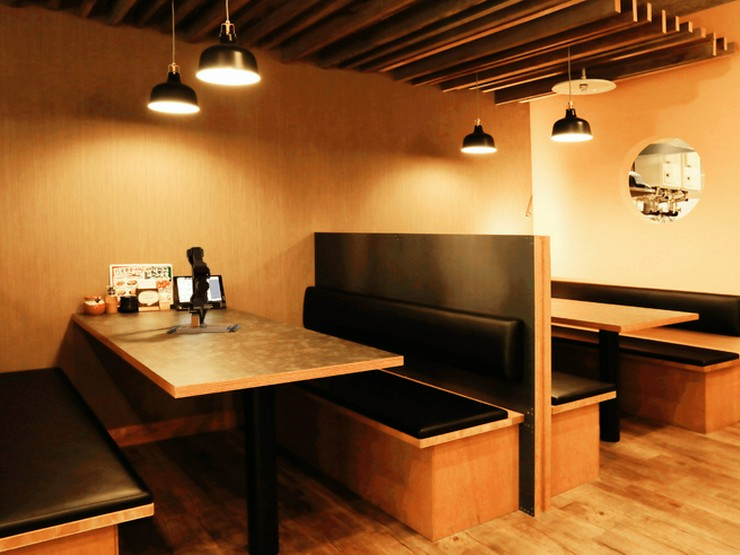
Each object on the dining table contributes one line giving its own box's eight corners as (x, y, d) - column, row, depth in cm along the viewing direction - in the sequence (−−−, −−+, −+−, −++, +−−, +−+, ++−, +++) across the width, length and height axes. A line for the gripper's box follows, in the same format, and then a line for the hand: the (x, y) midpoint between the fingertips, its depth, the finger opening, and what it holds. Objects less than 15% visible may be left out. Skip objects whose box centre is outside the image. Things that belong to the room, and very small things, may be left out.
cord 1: (175, 328, 316) (175, 325, 316) (181, 328, 316) (181, 325, 316) (165, 333, 299) (165, 330, 299) (172, 333, 299) (172, 330, 299)
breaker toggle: (193, 325, 310) (192, 313, 309) (199, 325, 310) (199, 313, 310) (191, 326, 306) (191, 315, 305) (197, 326, 306) (197, 314, 306)
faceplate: (184, 328, 315) (184, 324, 315) (232, 327, 316) (232, 322, 316) (176, 333, 300) (176, 328, 300) (227, 331, 301) (226, 327, 301)
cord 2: (235, 326, 318) (235, 323, 317) (241, 326, 318) (241, 323, 318) (229, 332, 300) (228, 328, 300) (235, 332, 300) (235, 328, 300)
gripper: (177, 292, 298) (179, 325, 300) (217, 291, 299) (218, 324, 300) (183, 290, 310) (185, 321, 311) (221, 289, 310) (223, 320, 312)
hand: (202, 322), depth 308 cm, fingers closed
